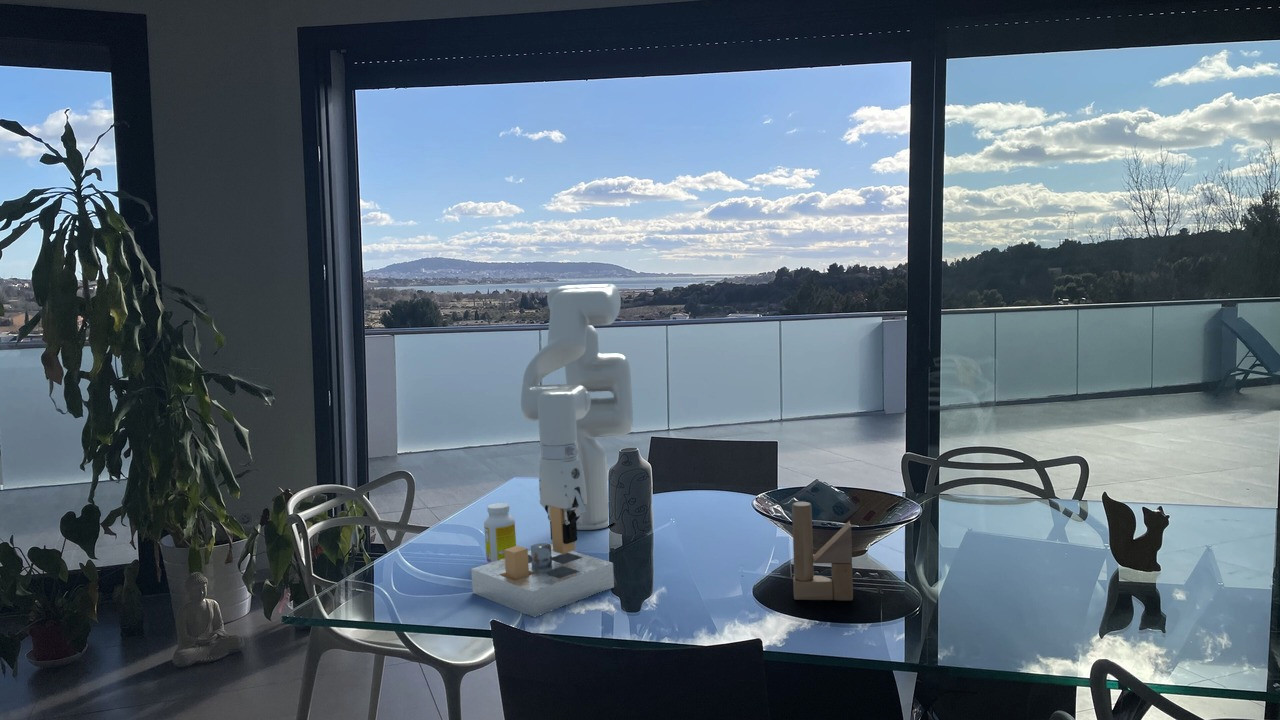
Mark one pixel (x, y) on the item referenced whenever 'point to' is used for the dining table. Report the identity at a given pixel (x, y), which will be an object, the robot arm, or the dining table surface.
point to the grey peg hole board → (544, 580)
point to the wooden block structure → (820, 560)
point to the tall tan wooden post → (516, 562)
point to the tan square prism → (559, 531)
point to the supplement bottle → (498, 531)
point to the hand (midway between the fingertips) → (564, 539)
